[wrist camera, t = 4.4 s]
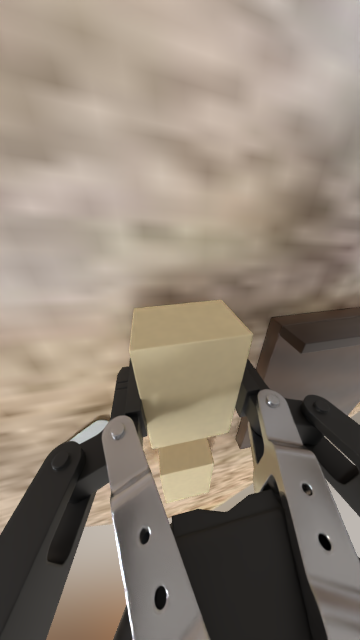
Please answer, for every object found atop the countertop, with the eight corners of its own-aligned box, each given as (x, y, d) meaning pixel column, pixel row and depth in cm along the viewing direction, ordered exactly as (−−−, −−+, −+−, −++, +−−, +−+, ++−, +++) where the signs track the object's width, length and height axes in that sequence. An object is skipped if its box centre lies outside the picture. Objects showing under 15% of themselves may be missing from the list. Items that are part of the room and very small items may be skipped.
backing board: (271, 317, 13) (305, 344, 10) (420, 299, 15) (483, 318, 12) (235, 438, 22) (248, 470, 19) (329, 418, 24) (353, 444, 21)
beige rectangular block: (133, 307, 9) (128, 351, 6) (221, 299, 10) (254, 334, 7) (150, 398, 13) (152, 450, 10) (211, 387, 14) (229, 433, 11)
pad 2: (157, 433, 18) (160, 476, 15) (203, 424, 19) (214, 463, 16) (162, 465, 22) (165, 503, 19) (200, 457, 23) (208, 492, 20)
